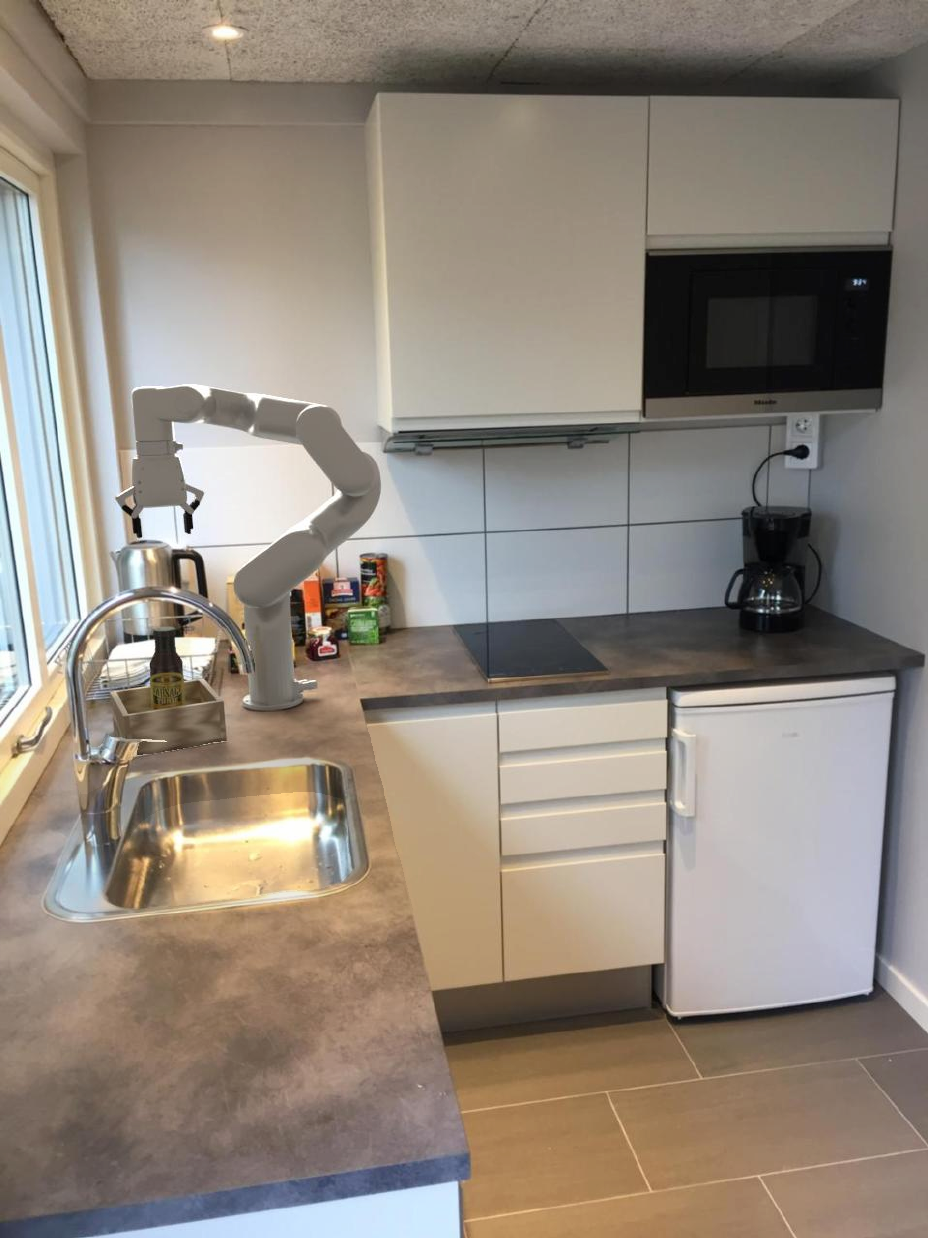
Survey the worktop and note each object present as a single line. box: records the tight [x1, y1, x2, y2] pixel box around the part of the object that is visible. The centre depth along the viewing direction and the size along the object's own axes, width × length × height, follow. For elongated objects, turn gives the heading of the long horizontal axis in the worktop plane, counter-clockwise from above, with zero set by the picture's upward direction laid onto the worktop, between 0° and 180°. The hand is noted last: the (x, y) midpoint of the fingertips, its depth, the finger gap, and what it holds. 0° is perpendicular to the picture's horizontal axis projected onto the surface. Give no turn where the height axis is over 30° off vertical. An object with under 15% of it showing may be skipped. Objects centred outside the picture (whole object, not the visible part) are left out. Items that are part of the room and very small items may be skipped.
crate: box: [109, 678, 228, 755], centre depth 193 cm, size 18×18×8 cm
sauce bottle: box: [149, 626, 185, 711], centre depth 192 cm, size 7×6×20 cm
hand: (163, 535), depth 205 cm, fingers open, 9 cm apart
